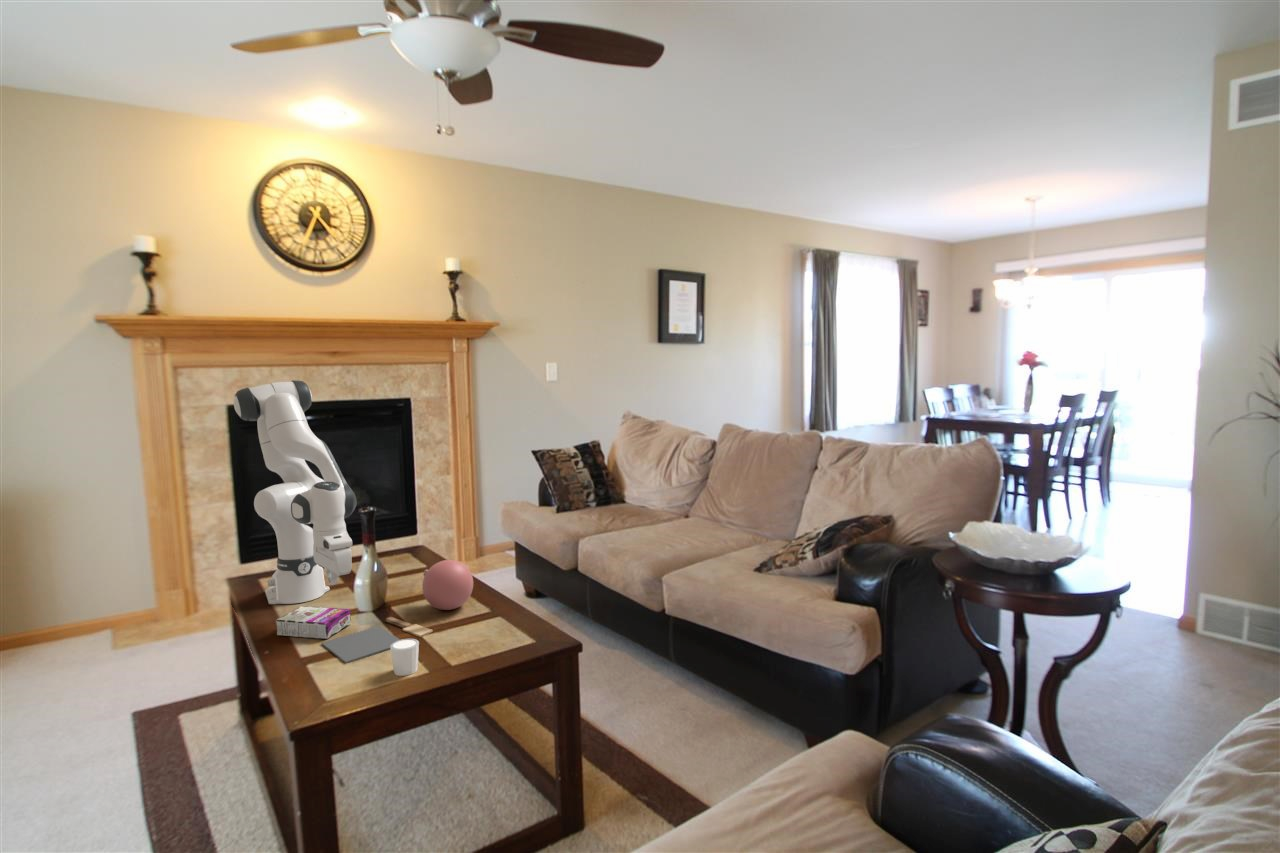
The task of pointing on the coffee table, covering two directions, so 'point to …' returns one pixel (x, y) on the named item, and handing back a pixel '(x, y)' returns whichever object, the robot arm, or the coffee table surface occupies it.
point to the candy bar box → (313, 622)
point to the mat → (361, 644)
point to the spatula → (410, 627)
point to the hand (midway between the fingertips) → (332, 583)
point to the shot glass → (405, 656)
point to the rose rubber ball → (447, 584)
